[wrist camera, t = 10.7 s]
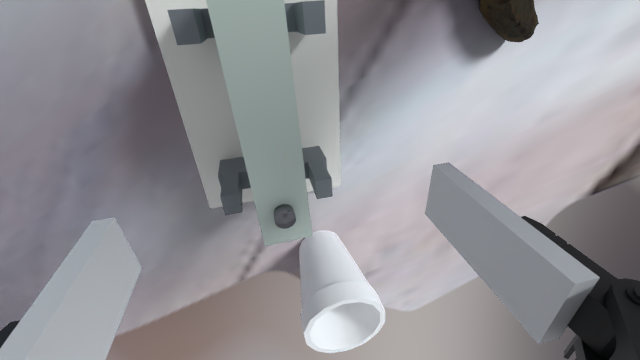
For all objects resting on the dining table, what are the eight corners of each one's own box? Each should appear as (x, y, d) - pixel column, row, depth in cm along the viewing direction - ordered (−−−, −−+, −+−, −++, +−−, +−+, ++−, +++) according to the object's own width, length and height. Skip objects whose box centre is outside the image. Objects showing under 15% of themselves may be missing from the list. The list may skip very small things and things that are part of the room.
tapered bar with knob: (269, -14, 22) (283, -27, 14) (297, 187, 31) (314, 244, 24) (214, -10, 21) (198, -21, 14) (260, 194, 30) (265, 254, 23)
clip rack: (331, -53, 26) (368, -79, 18) (337, 180, 38) (361, 222, 30) (135, -46, 23) (82, -74, 15) (211, 201, 35) (202, 253, 28)
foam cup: (336, 272, 47) (365, 352, 36) (281, 267, 43) (293, 354, 32) (359, 225, 43) (399, 299, 32) (300, 216, 40) (321, 296, 29)
